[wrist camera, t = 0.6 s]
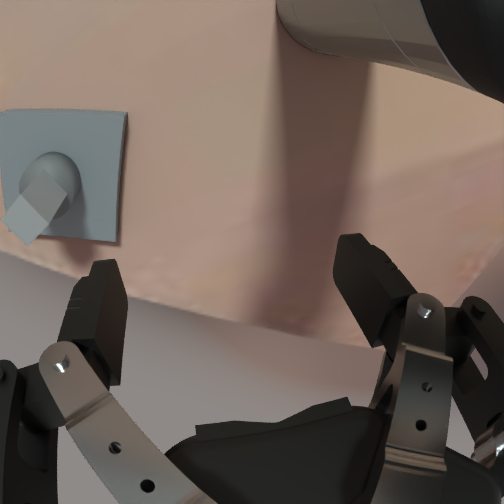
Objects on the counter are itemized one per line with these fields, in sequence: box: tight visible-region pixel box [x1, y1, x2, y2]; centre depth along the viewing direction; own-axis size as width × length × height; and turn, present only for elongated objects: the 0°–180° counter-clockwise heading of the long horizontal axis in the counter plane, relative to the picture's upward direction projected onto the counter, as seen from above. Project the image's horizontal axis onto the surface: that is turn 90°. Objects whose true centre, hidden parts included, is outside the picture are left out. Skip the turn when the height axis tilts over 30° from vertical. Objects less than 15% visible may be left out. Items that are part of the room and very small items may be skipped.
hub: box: [0, 109, 128, 246], centre depth 21 cm, size 12×12×8 cm
